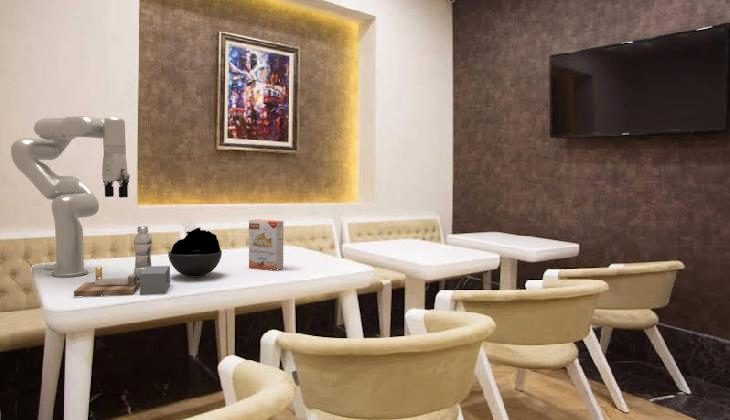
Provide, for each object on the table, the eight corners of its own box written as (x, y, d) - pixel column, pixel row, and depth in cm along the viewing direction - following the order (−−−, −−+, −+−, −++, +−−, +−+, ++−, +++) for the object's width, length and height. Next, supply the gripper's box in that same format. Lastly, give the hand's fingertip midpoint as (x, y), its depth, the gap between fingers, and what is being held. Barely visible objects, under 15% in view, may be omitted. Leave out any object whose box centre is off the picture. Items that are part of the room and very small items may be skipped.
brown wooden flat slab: (73, 297, 173) (73, 281, 172) (85, 287, 186) (85, 273, 186) (133, 294, 177) (133, 279, 177) (140, 286, 190) (140, 271, 190)
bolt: (95, 284, 179) (94, 268, 179) (96, 283, 182) (96, 267, 181) (133, 283, 182) (133, 267, 182) (134, 282, 184) (134, 266, 184)
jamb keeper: (139, 294, 177) (139, 273, 177) (146, 285, 191) (146, 266, 190) (165, 293, 179) (165, 273, 179) (170, 284, 193) (169, 265, 192)
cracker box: (248, 268, 228) (248, 219, 226) (256, 266, 233) (256, 218, 232) (276, 271, 222) (276, 221, 221) (283, 268, 228) (283, 220, 226)
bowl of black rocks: (202, 283, 196) (202, 233, 195) (157, 279, 202) (156, 230, 200) (231, 273, 215) (231, 227, 214) (189, 270, 221) (188, 225, 219)
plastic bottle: (137, 277, 206) (136, 225, 204) (155, 277, 206) (154, 226, 205) (131, 280, 199) (130, 227, 198) (149, 280, 200) (149, 227, 198)
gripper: (92, 151, 200) (94, 196, 201) (117, 150, 190) (119, 198, 191) (112, 152, 206) (113, 196, 207) (137, 150, 196) (138, 197, 197)
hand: (116, 197), depth 199 cm, fingers open, 9 cm apart
